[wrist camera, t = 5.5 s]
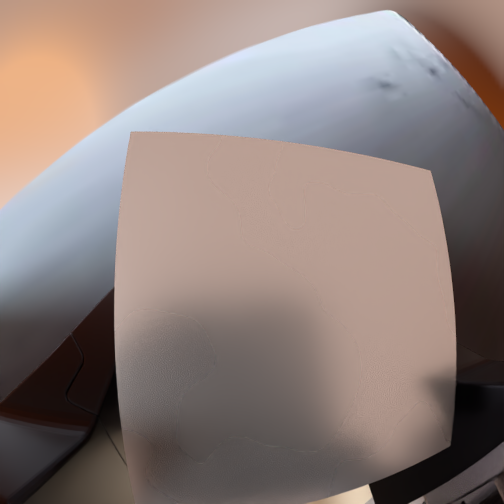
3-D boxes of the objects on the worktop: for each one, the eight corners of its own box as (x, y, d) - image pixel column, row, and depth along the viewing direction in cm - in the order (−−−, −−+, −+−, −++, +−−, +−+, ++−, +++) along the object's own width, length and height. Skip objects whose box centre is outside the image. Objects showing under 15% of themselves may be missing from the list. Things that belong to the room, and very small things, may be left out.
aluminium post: (256, 369, 15) (450, 445, 3) (164, 372, 14) (138, 518, 2) (252, 280, 16) (430, 171, 4) (162, 280, 15) (130, 131, 3)
